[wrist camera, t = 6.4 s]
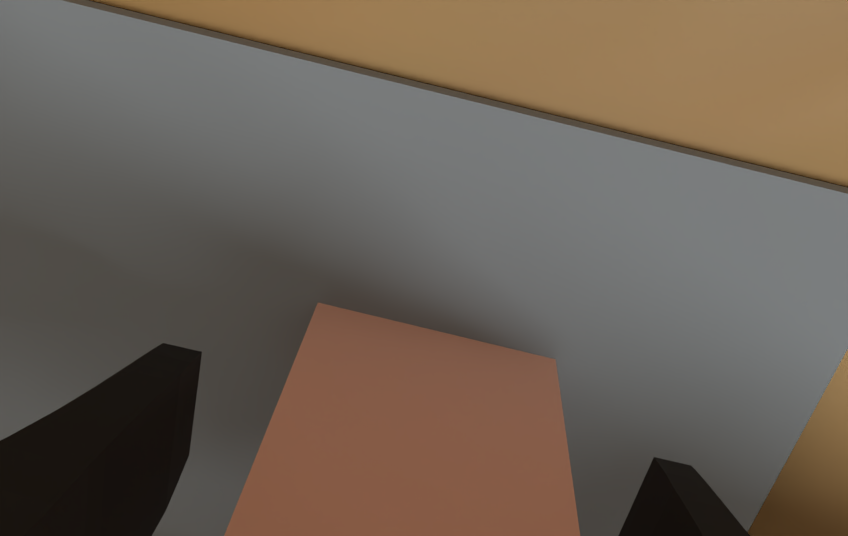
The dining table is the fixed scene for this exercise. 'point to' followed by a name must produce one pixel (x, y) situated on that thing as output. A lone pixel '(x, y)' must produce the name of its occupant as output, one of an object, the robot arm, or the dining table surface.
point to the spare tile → (410, 438)
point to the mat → (395, 251)
